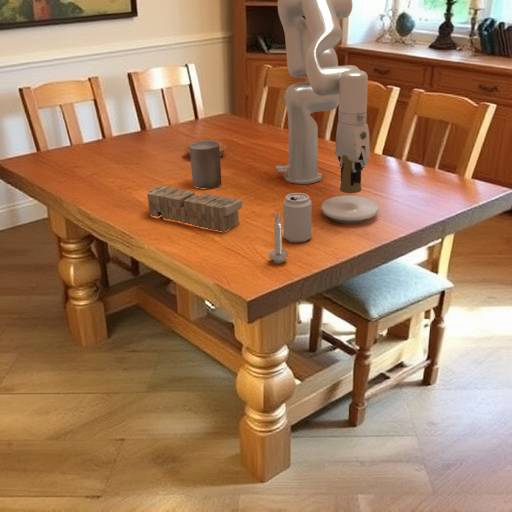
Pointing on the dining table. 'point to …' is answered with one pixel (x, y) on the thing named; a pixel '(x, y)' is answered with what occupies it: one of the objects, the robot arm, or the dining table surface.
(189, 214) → the block tower
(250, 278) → the dining table surface
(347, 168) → the cork
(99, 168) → the dining table surface
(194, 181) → the pillar candle
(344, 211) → the grey plate
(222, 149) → the pie
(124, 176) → the dining table surface
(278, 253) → the screw
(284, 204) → the can
